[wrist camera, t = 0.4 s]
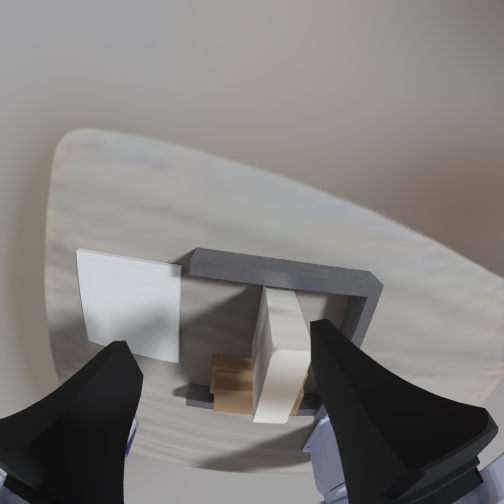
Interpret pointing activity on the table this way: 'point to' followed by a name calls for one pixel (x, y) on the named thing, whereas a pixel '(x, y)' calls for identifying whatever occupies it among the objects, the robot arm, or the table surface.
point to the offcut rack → (294, 277)
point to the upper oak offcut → (239, 394)
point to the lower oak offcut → (232, 367)
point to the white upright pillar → (278, 355)
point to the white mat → (131, 302)
